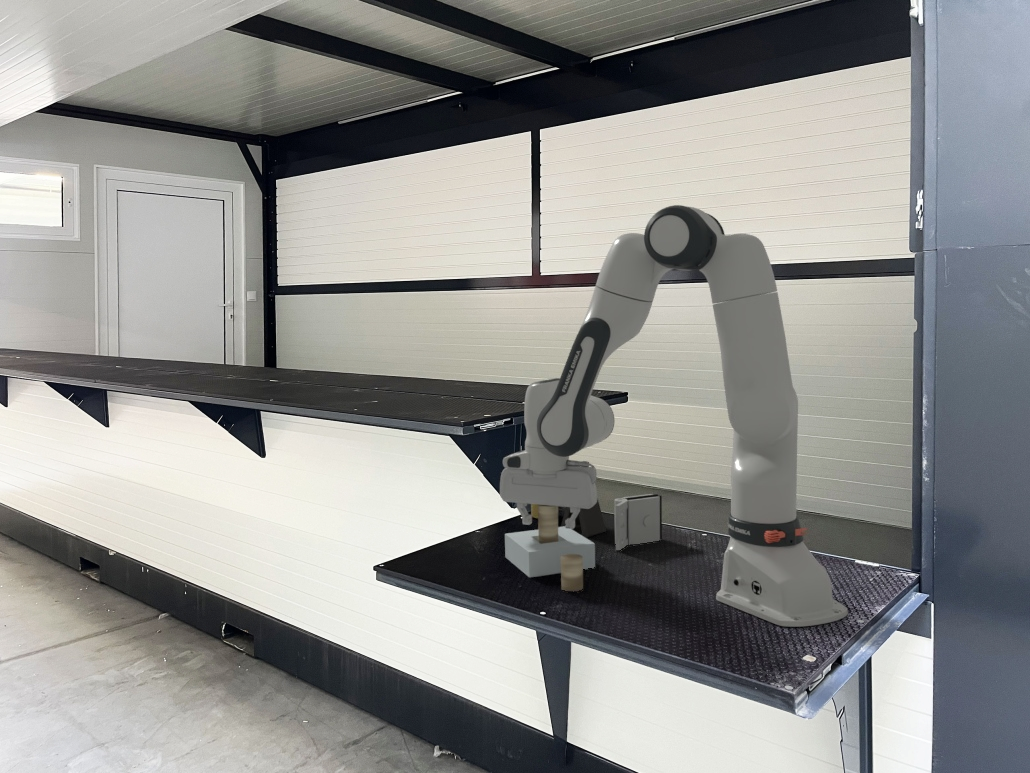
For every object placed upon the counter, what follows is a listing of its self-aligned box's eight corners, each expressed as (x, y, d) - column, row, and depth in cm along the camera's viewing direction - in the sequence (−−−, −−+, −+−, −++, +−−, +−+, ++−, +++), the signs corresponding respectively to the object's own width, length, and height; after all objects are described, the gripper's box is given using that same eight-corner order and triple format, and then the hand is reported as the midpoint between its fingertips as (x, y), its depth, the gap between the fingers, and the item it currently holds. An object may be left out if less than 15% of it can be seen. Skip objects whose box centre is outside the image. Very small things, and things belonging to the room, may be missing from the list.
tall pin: (561, 564, 162) (560, 505, 161) (543, 566, 161) (542, 507, 160) (554, 558, 166) (553, 501, 165) (536, 560, 165) (535, 503, 164)
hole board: (595, 567, 159) (594, 543, 159) (529, 577, 155) (528, 552, 154) (566, 548, 173) (566, 526, 172) (505, 557, 168) (504, 533, 167)
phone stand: (606, 532, 184) (605, 481, 183) (588, 537, 181) (587, 485, 179) (578, 525, 191) (577, 475, 190) (560, 530, 187) (559, 479, 186)
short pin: (586, 590, 147) (586, 559, 146) (566, 594, 145) (566, 561, 145) (577, 584, 151) (577, 552, 150) (558, 587, 149) (557, 555, 149)
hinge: (618, 552, 169) (617, 505, 168) (601, 547, 174) (600, 501, 173) (665, 540, 177) (664, 495, 176) (647, 535, 182) (647, 491, 181)
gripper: (601, 458, 160) (602, 526, 161) (508, 453, 169) (510, 517, 170) (590, 464, 154) (591, 535, 156) (495, 458, 163) (497, 525, 164)
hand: (548, 526), depth 163 cm, fingers open, 8 cm apart
